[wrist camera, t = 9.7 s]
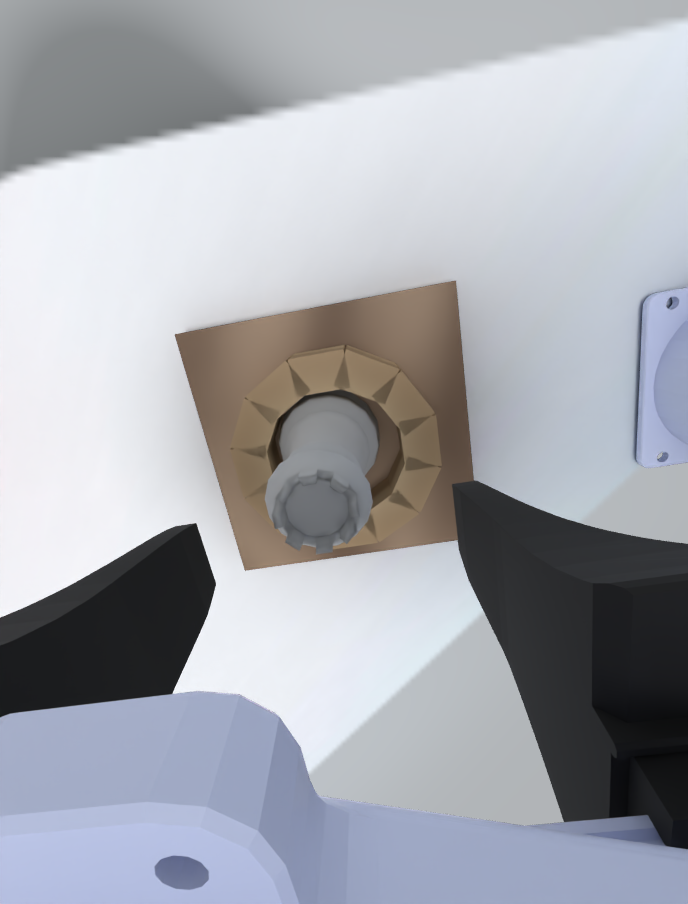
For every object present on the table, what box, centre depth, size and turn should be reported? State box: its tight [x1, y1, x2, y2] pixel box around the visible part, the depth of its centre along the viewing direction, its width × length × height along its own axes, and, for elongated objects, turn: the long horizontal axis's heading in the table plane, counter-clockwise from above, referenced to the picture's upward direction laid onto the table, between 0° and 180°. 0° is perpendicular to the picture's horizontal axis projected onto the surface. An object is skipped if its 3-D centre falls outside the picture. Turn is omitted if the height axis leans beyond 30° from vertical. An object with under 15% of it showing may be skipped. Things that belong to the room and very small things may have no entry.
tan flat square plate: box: [175, 281, 474, 571], centre depth 19 cm, size 12×12×3 cm
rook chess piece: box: [265, 390, 380, 554], centre depth 16 cm, size 4×4×8 cm
